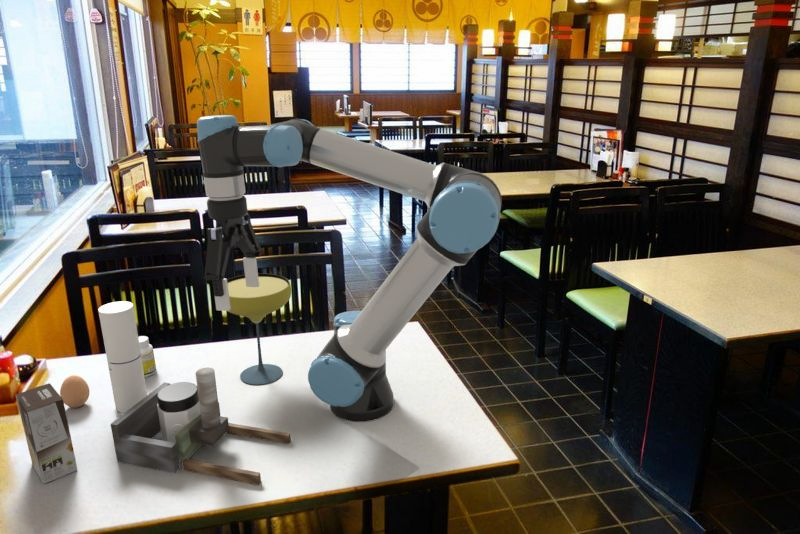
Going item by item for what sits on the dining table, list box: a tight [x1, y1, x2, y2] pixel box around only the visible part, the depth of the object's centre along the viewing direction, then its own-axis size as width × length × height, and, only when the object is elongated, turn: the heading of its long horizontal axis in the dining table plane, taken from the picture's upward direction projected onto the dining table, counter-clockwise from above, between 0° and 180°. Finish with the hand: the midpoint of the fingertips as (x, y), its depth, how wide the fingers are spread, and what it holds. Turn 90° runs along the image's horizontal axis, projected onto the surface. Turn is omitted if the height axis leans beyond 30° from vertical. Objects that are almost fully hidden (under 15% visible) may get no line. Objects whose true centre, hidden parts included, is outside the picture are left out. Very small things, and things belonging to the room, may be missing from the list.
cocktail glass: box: [227, 273, 292, 386], centre depth 150 cm, size 18×18×25 cm
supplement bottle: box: [138, 335, 157, 378], centre depth 154 cm, size 5×5×10 cm
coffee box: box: [15, 382, 78, 484], centre depth 116 cm, size 9×6×16 cm
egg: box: [59, 374, 90, 409], centre depth 139 cm, size 6×6×8 cm
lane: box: [110, 382, 292, 485], centre depth 122 cm, size 31×17×9 cm, turn 75°
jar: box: [157, 381, 201, 443], centre depth 125 cm, size 9×8×12 cm
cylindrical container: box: [97, 300, 148, 413], centre depth 137 cm, size 7×7×25 cm
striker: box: [175, 367, 229, 463], centre depth 121 cm, size 7×11×18 cm, turn 165°
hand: (239, 297), depth 123 cm, fingers open, 13 cm apart
